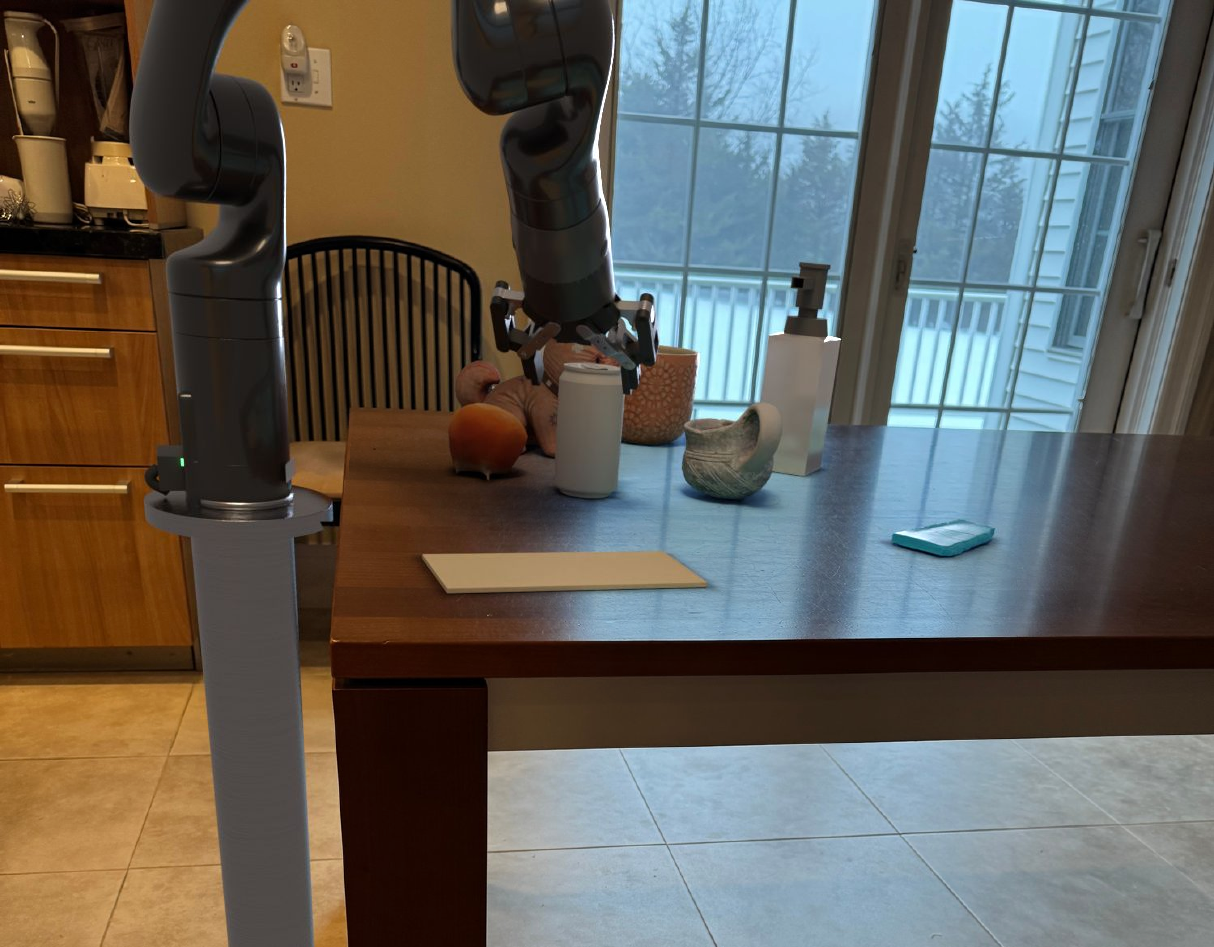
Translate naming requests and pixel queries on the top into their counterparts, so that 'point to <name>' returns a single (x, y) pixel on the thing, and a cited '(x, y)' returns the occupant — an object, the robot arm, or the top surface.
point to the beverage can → (589, 430)
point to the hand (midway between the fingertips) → (583, 382)
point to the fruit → (485, 439)
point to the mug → (732, 452)
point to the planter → (661, 397)
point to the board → (559, 571)
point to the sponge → (945, 537)
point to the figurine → (527, 390)
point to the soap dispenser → (802, 376)
